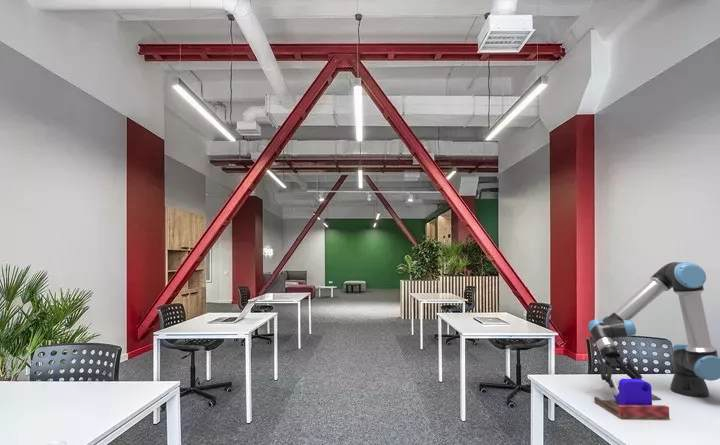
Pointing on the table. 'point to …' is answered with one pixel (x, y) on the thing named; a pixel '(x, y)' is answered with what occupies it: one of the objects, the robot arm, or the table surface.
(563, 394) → the table surface
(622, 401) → the bracket
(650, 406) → the walnut stop track
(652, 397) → the keychain
